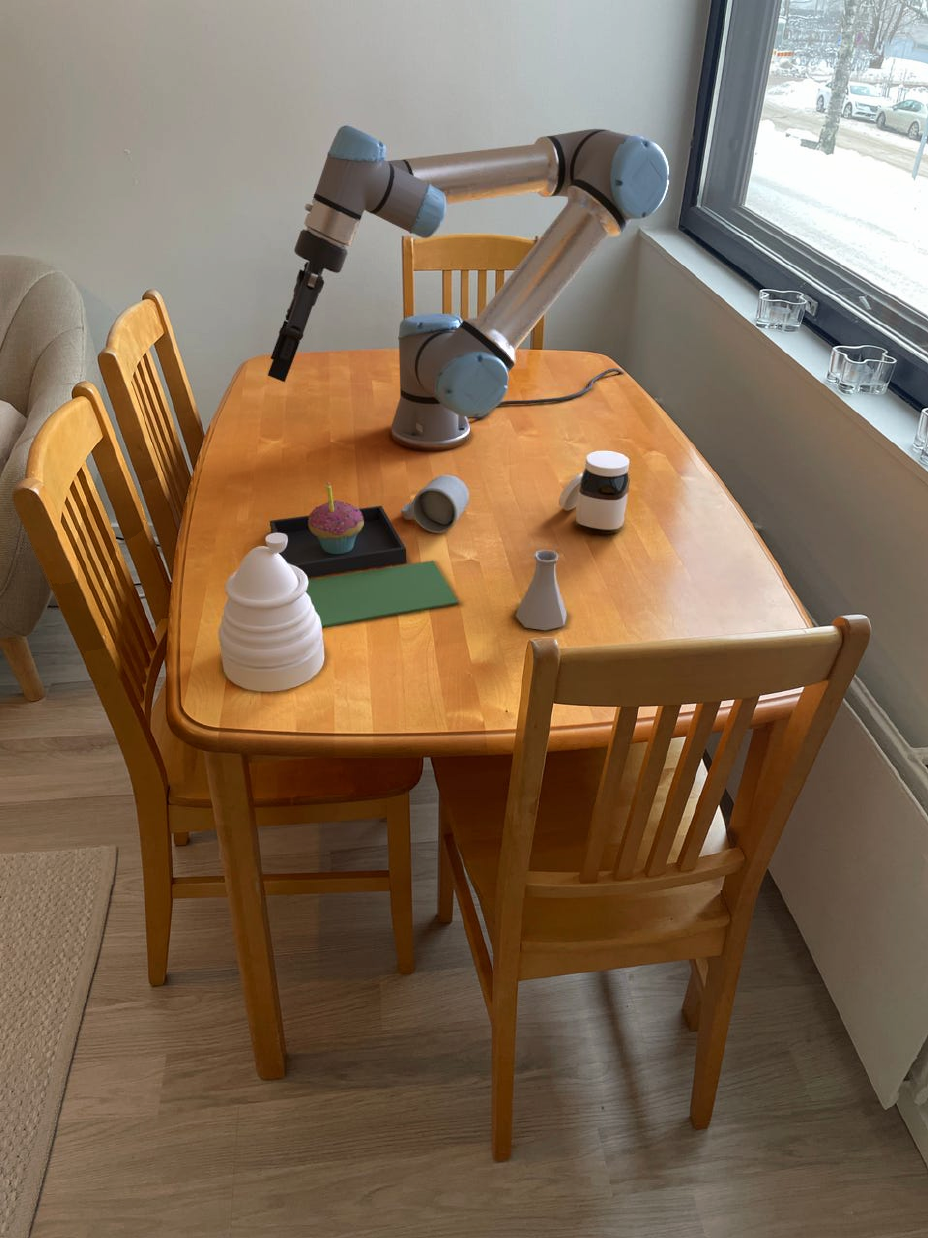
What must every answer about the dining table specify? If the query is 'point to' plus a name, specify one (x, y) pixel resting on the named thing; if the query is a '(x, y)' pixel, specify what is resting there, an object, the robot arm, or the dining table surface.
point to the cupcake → (335, 524)
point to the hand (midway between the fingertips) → (277, 369)
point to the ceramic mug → (438, 504)
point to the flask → (543, 596)
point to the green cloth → (379, 593)
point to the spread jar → (599, 493)
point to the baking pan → (369, 551)
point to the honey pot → (270, 623)
